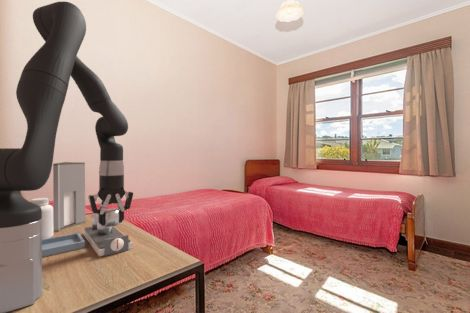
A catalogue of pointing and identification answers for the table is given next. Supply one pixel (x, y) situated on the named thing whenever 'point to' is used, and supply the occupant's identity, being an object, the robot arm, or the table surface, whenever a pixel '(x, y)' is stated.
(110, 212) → the cylinder
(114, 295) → the table surface
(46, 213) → the pill bottle
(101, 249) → the scale
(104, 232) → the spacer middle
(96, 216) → the cylinder
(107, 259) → the table surface
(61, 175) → the cabinet
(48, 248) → the tray
